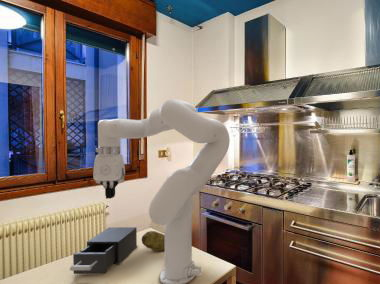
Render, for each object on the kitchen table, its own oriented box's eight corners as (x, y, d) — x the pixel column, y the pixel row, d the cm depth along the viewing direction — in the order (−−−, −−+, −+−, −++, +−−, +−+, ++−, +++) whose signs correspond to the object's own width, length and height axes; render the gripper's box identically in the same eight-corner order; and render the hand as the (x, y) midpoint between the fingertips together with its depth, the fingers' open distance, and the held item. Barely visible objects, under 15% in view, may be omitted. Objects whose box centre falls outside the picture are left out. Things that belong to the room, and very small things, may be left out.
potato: (165, 255, 97) (165, 236, 97) (138, 252, 99) (138, 234, 99) (175, 246, 106) (175, 229, 105) (149, 244, 108) (149, 227, 107)
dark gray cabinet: (118, 264, 90) (118, 241, 90) (87, 264, 90) (86, 241, 90) (136, 246, 105) (136, 227, 105) (109, 246, 105) (109, 227, 104)
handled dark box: (96, 282, 78) (96, 261, 78) (62, 282, 77) (62, 261, 77) (125, 254, 96) (124, 237, 96) (97, 254, 96) (97, 237, 96)
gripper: (83, 152, 85) (84, 200, 86) (123, 151, 86) (124, 200, 86) (96, 150, 93) (97, 195, 93) (133, 150, 93) (134, 195, 93)
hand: (110, 197), depth 90 cm, fingers closed
